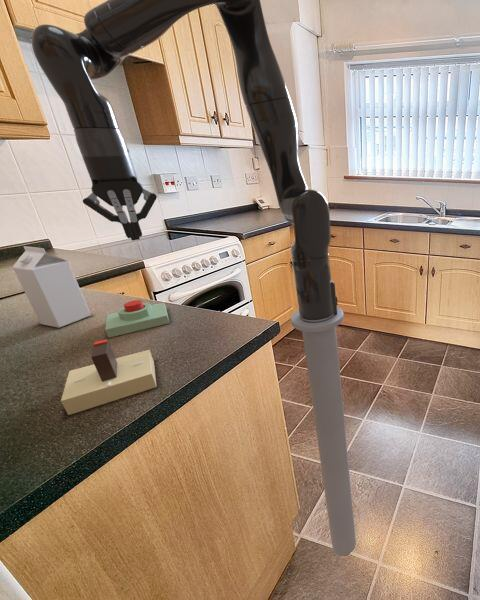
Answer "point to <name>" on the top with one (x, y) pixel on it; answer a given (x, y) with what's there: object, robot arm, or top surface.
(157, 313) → the button block
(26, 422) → the top surface
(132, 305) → the button
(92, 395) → the panel
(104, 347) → the brown rectangular block
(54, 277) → the milk carton
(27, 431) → the top surface
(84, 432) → the top surface
